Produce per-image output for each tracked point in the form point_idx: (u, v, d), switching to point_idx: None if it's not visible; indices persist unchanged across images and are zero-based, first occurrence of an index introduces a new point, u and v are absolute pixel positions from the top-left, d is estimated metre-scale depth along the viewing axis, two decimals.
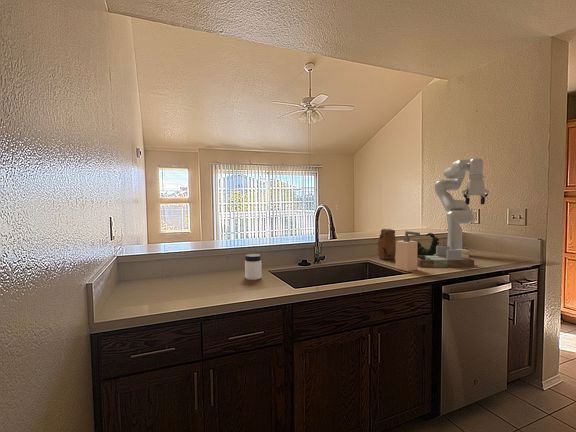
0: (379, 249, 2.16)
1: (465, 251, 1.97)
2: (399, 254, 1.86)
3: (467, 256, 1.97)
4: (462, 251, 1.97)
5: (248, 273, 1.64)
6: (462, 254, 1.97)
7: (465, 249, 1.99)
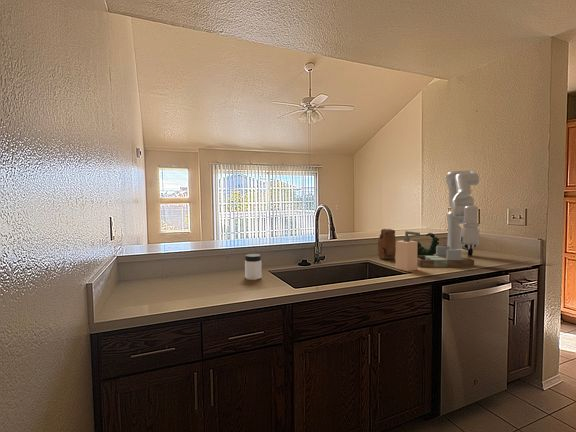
0: (379, 249, 2.16)
1: (464, 251, 1.96)
2: (399, 254, 1.86)
3: (466, 256, 1.97)
4: (461, 251, 1.96)
5: (248, 273, 1.64)
6: (461, 254, 1.96)
7: (464, 249, 1.99)
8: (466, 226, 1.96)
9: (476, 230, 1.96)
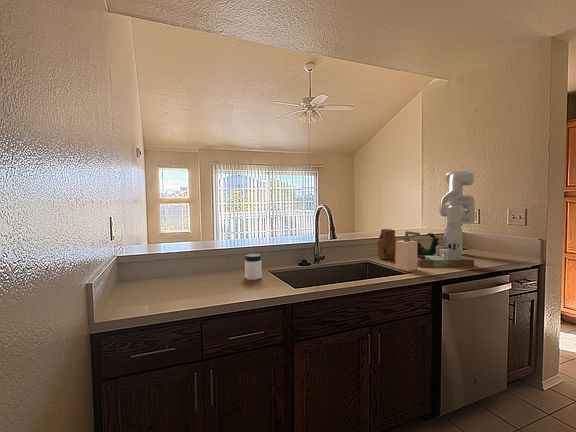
0: (379, 249, 2.16)
1: None
2: (399, 254, 1.86)
3: None
4: (445, 251, 1.96)
5: (248, 273, 1.64)
6: (445, 254, 1.96)
7: (448, 249, 1.99)
8: (449, 226, 1.96)
9: (459, 230, 1.96)
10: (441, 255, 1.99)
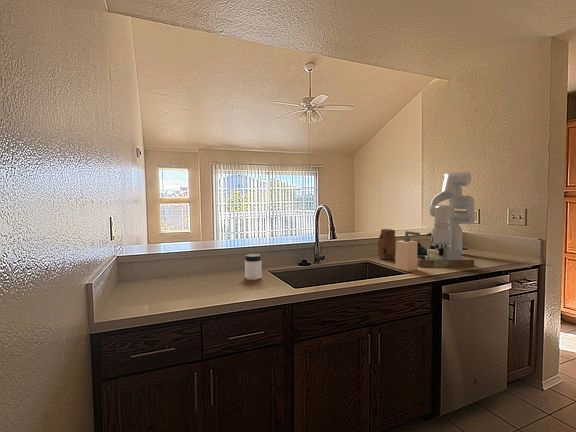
0: (379, 249, 2.16)
1: (435, 251, 1.96)
2: (399, 254, 1.86)
3: (437, 256, 1.96)
4: (432, 251, 1.96)
5: (248, 273, 1.64)
6: (432, 254, 1.96)
7: (435, 249, 1.99)
8: (436, 226, 1.96)
9: (446, 230, 1.96)
10: (428, 255, 1.98)
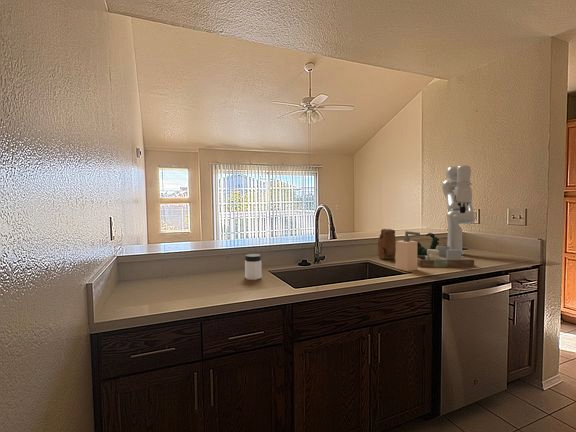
0: (379, 249, 2.16)
1: (435, 251, 1.96)
2: (399, 254, 1.86)
3: (437, 256, 1.96)
4: (432, 251, 1.96)
5: (248, 273, 1.64)
6: (432, 254, 1.96)
7: (435, 249, 1.99)
8: (459, 185, 2.06)
9: (469, 188, 2.06)
10: (428, 255, 1.98)
